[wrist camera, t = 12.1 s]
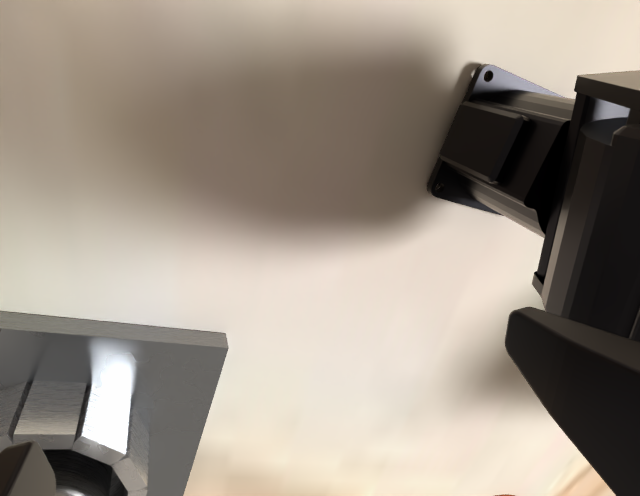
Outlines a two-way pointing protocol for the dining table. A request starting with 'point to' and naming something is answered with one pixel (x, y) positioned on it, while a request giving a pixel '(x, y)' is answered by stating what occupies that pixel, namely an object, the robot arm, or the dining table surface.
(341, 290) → the dining table surface
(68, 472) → the lens
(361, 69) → the dining table surface
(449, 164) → the robot arm
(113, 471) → the lens mount
